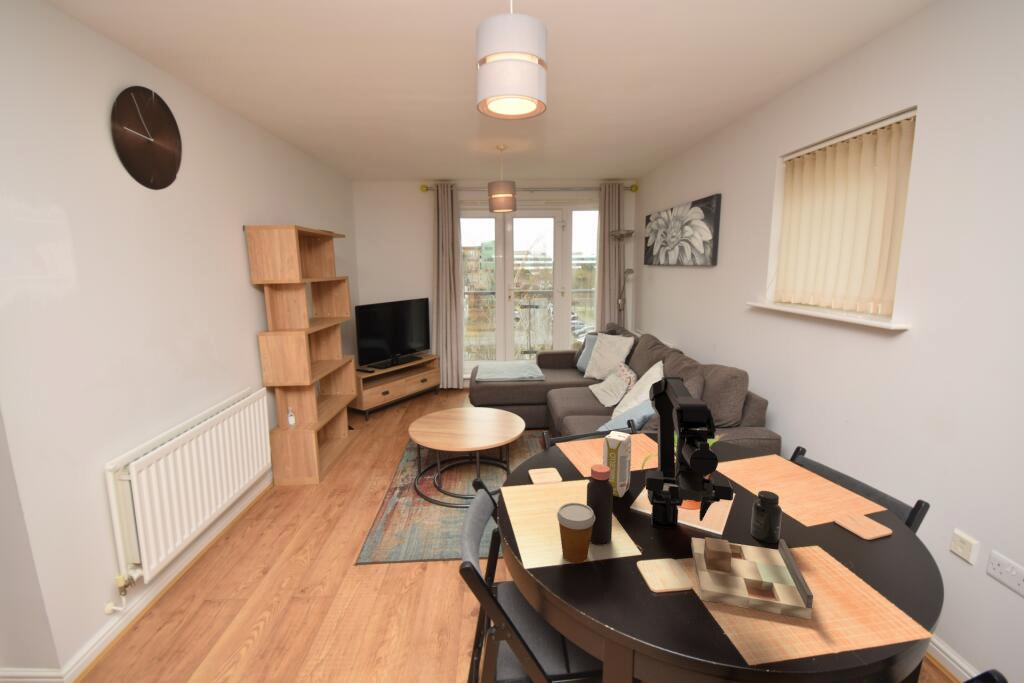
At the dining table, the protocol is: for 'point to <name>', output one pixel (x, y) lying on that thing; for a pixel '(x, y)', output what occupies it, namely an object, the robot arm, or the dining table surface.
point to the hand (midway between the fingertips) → (685, 518)
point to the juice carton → (618, 460)
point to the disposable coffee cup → (575, 531)
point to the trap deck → (755, 580)
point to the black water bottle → (600, 504)
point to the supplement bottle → (766, 517)
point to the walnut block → (717, 554)
